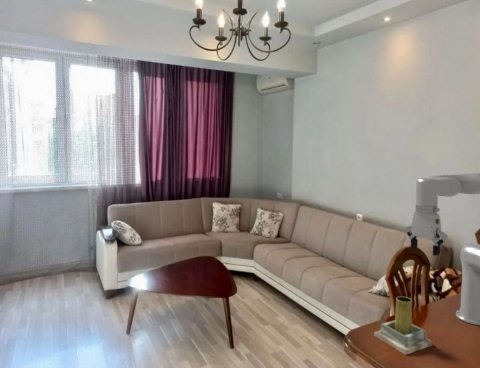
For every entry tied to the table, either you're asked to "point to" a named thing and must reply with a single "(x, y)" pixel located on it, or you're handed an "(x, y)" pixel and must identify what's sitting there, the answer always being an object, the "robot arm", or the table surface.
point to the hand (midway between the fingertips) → (424, 251)
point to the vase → (403, 315)
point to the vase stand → (403, 338)
